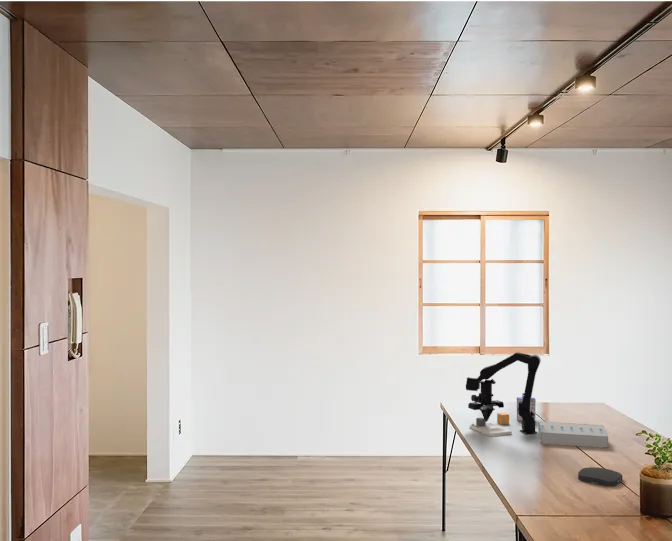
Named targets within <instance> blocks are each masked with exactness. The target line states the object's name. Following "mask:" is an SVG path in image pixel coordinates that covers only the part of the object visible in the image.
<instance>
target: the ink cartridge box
mask: <svg viewBox="0 0 672 541" xmlns="http://www.w3.org/2000/svg"><path fill="white" fill-rule="evenodd" d="M523 398H524V392H523V393H522V395H521V397H520V396H519V397H518V396H516V421H519V422H522V417H521V416H520V415H519V413H518V411H519V410H517V409H518V407H519V401H523ZM536 401H537V399H536V398H535V397H531V411H532V412H533V413H534V414H535V415H536V405H537V404H536ZM534 420H535V421H536V417H535V418H534Z"/></svg>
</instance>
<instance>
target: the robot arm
mask: <svg viewBox="0 0 672 541" xmlns="http://www.w3.org/2000/svg"><path fill="white" fill-rule="evenodd" d="M541 361H542V360H541V357H539V355H537V354H532V355H530V354H528V353H522V352H519V351H515V352H514V353H513V354H512V355H510V356H508V357H506V358H504V359H502V360H500V361H498V362H497V363H494V364H491V365H487V366H485V367H483V368H482V369H481V370H480V371H479V376H477V377H470V376H469V377H467V378H466V383H465V390H466V391H471V392H478V390H480V392H478V395H476V394H471V396H470V397H471V398H470V400H471V402H469V403H468V404H467V405H468V406H467V408H468V409H470V410H474V411H477V410H478V411H480V412H481V414H482V418H484V419H486V423H488V421H489V419H490V417H491V415H492V413H493V411H494V410H496V409H495V408H494V407H498V408H499V409H501V408H504V407H505V404H504V402H503V400H502V401H501V400H499V399H498V400H497V399H496V400H493V397H494V393H493V385H495V384H496V383H497V382H496V380H494V379H493V378H492V377H493V376H494V375H495V374H496V373H498V372H499V371H501V370H502V369H504V368H507V367H509V366H510V365H512V364H514V363H515V362H521V363H523V364H525V365H527V377H526V381H525V387H524V392H523V393H524V395H523V396H524V398H523V401H519V407H518V409H517V408H516V411H517V410H519V411H518V413H519V415H520V416H521V417H522V421H521V429H520V430H519V432H521V433H524V434H525V435H533V434H538V430H537V431H536V413H535V414H534V413H533V412H532V411H531V398H532V395H533V391H534V385H535V379H536V374H537V372H538V369H539V366H540V364H541ZM490 378H491V379H490ZM534 418H535V420H534Z"/></svg>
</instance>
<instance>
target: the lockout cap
mask: <svg viewBox="0 0 672 541" xmlns="http://www.w3.org/2000/svg"><path fill="white" fill-rule="evenodd" d="M496 414H497V415H496V423H497V422H498V423H497V424H500V423H501V424H500V425H509V424H510V414H509V413H506V412H498V413H496Z"/></svg>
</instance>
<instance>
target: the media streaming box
mask: <svg viewBox="0 0 672 541" xmlns="http://www.w3.org/2000/svg"><path fill="white" fill-rule="evenodd" d="M577 477H578V478H577V479H578V480H579V481H581V482H584V481H585V483H589V482H590V484H593V483H594V485H598V484H599V486H603V485H604V486H603V487H616V486H617V485H619V484H620V483H621V482H622V481H623V474H622V473H620V472H618V471H616V470H613V469H609V468H603V467H595V466H594V467H593V466H591V467H584V468H583V467H582V469H580V470H579V471H578V472H577Z"/></svg>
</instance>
